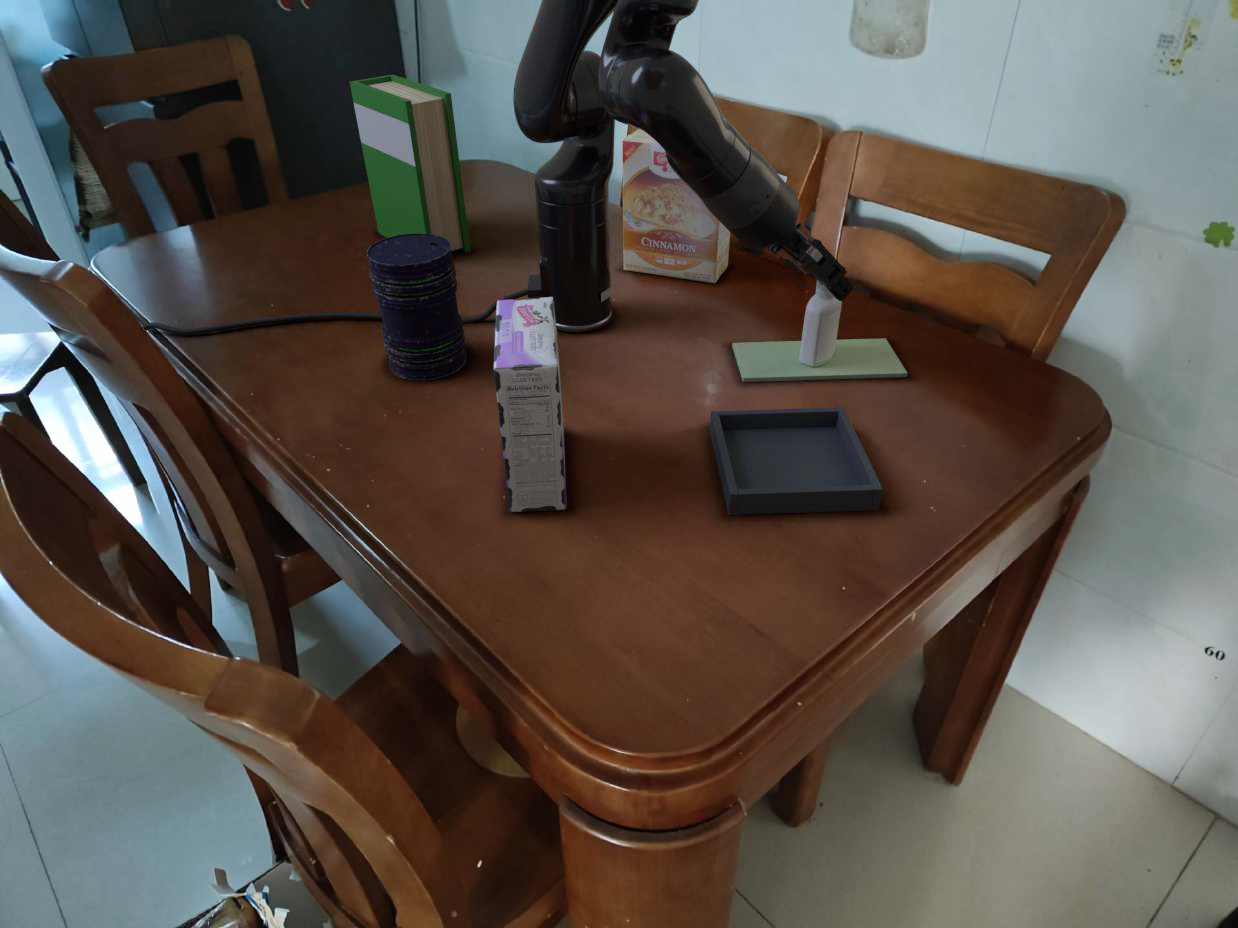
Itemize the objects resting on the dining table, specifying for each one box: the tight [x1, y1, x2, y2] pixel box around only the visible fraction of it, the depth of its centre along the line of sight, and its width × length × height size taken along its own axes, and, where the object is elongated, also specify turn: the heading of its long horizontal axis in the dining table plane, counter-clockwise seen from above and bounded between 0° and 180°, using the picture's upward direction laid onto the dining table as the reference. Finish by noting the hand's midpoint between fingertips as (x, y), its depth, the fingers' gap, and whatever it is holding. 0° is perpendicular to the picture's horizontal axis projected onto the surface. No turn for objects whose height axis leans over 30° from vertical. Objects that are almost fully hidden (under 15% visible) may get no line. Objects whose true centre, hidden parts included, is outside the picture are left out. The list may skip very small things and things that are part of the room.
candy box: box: [493, 297, 568, 513], centre depth 81 cm, size 14×6×16 cm, turn 5°
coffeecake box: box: [622, 128, 731, 284], centre depth 122 cm, size 15×7×20 cm, turn 68°
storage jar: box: [366, 233, 467, 382], centre depth 100 cm, size 10×10×15 cm
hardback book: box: [349, 74, 472, 254], centre depth 131 cm, size 18×7×24 cm, turn 40°
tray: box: [709, 406, 884, 516], centre depth 85 cm, size 15×15×3 cm
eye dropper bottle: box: [799, 280, 843, 367], centre depth 99 cm, size 4×6×12 cm
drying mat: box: [731, 337, 908, 383], centre depth 103 cm, size 20×9×1 cm, turn 92°
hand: (824, 280), depth 97 cm, fingers open, 8 cm apart
